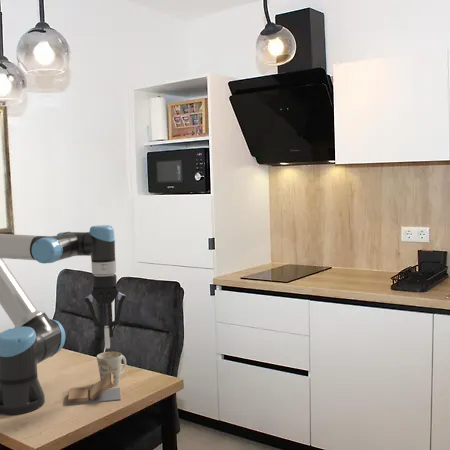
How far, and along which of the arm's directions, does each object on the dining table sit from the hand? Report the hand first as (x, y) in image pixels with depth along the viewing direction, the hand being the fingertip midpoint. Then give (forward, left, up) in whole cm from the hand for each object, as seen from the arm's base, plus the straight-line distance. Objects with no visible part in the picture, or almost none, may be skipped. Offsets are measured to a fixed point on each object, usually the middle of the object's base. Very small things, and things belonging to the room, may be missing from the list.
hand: (107, 347), depth 186 cm
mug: (+2, +12, -16) cm, 20 cm away
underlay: (-5, 0, -16) cm, 17 cm away
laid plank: (-10, 0, -16) cm, 19 cm away
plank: (-2, 0, -13) cm, 13 cm away
